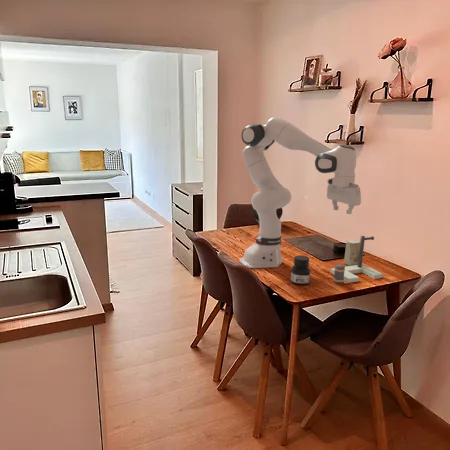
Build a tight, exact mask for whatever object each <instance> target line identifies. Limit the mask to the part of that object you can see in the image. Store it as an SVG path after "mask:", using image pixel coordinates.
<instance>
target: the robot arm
mask: <svg viewBox="0 0 450 450" xmlns="http://www.w3.org/2000/svg"><path fill="white" fill-rule="evenodd" d="M241 140H242V142H243V144H245V145H246V146H245V147H244V148H243V150H242V151H241V152H242V153H241V155H242V160H243V162H244V165H245V168H246V171H247V173H248V175H249V177H250V180H251V182H252V183H253V185H255V186H257V187H258V188H259V189H260V190H259V191H257V192H255V193H253V194H252V197H251V207H252V208H253V209H255V210H256V211H257V213H258V216H259V221H260V224H259V230H258V231H259V234H258V236H256V235H252V237H251V238H252V239H253V241H255V242H254V243H252V244H251V245H250V246H249V247H248V248H246V249H245V250H244V254H243V257H240V258H239V263H240V264H241V265H242V266H244V267H245V268H249V269H262V268H263V269H265V268H266V269H267V268H278V267H280V265H281V264H282V263H283V260H282V253H281V246H282V235H281V233H282V232H281V231H282V220H281V218H280V219H278V217H277V214H276V209H278V208H282V209H283V208H285V207H286V206H287V205H288V204H290V203H291V201H292V194H291V191H290V190H289V189H288V188H286V187H285V186H284V185H282V184H281V182H280V181H279V180H278V179H277V178H276V176H275V175H274V174H273V172H272V170H271V167H270V166H269V162H268V161H267V159H266V156H265V154H264V151H267V150H268V149H269V148H270V147H271V146H272V145H273V144H274V143H275V142H276V143H277V144H279V145H280V146H281V147H283V148H285V149H288V150H290V151H291V150H292V151H304V152H308V153H309V154H312V155H313V156H315V157H316V158H315V159H314V166H315V169H316V170H317V172H319V173H321V174H331V173H334V177H331V178H328V179H327V182H326V183H327V187H326V198H327V200H331V204H332V205H333V207H332V208H333V210H334V211H339V208H340V207H339V205H338V202H339V203H342V204H346V205H348V209H346V214H347V215H352V212H353V209H354V207H357V206H360V204H362V202H361V201H362V193H361V188H360V186H359V185H358V184H356V182H355V179H356V173H355V169H356V167H357V151H356V149H355V147H354V146H351V145H344V144H340V145H338V146H336V147H335V148H333V149H332V148H329V147H327V145H324V144H322V143H321V142H319V141H317V140H315V139H314V138H312V137H311V136H309V135H308V134H306V133H305V132H303V131H302V130H301V129H300V128H298V127H297V126H295V125H294V124H292V123H291V122H289V121H287V120H285V119H284V118H281V117H278V116H272V117H271V118H269V119H268V120H267V122H266V123H265V124H261V123H259V124H258V123H257V124H255V123H254V124H249V125H246V126H245V127H243V129H242V131H241Z"/></svg>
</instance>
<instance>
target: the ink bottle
mask: <svg viewBox="0 0 450 450" xmlns="http://www.w3.org/2000/svg"><path fill="white" fill-rule="evenodd" d="M293 260H294V261H293V266H291V270H290V282H291V283H292V284H294V285H296V286H297V285H298V286H308V285H309V284H310V283H311V274H312V273H311V272H312V269H311V268H310V267H309V265H310V257H309V256H307V255H301V254H300V255H295V256H294V259H293Z"/></svg>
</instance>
